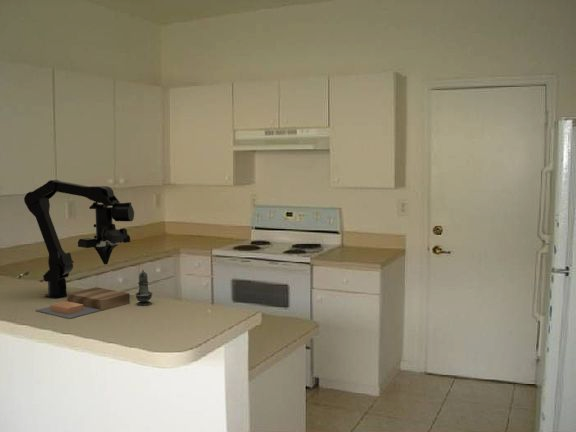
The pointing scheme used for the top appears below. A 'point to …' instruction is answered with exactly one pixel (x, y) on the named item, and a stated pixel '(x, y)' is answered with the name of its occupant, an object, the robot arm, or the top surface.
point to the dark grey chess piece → (143, 290)
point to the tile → (66, 307)
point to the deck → (99, 298)
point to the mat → (86, 311)
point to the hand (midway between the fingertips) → (105, 264)
